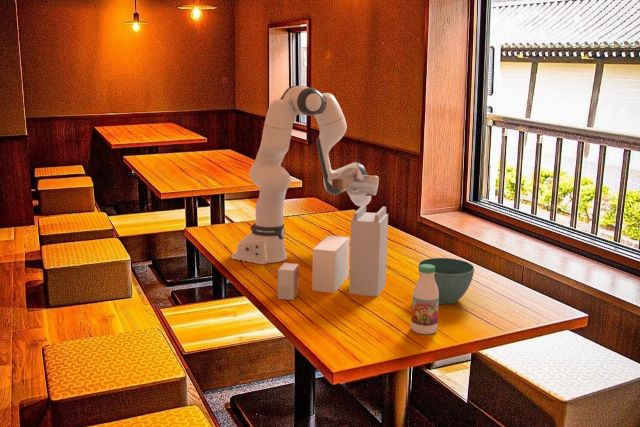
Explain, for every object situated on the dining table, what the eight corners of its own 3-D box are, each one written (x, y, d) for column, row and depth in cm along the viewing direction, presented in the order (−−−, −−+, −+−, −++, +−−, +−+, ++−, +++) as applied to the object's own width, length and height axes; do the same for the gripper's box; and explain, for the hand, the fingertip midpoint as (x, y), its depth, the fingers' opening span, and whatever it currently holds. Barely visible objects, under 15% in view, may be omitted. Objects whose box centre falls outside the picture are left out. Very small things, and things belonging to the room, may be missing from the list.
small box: (293, 300, 220) (293, 270, 218) (277, 299, 221) (277, 269, 219) (299, 292, 228) (299, 263, 225) (283, 291, 229) (283, 262, 226)
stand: (349, 293, 227) (351, 213, 221) (358, 281, 241) (360, 204, 234) (377, 296, 225) (380, 215, 218) (385, 284, 238) (388, 207, 232)
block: (312, 290, 230) (312, 249, 227) (327, 273, 249) (328, 235, 246) (334, 292, 228) (335, 251, 225) (348, 275, 247) (349, 237, 243)
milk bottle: (408, 325, 200) (411, 262, 196) (433, 324, 201) (436, 261, 197) (414, 335, 193) (417, 270, 189) (440, 334, 194) (443, 269, 189)
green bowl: (460, 314, 210) (462, 277, 208) (408, 302, 220) (409, 267, 217) (479, 297, 225) (481, 263, 223) (429, 287, 235) (431, 254, 232)
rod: (332, 189, 237) (332, 178, 236) (347, 177, 259) (348, 167, 258) (342, 190, 236) (343, 179, 235) (357, 178, 258) (358, 168, 257)
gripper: (332, 177, 270) (325, 164, 257) (381, 180, 265) (376, 167, 252) (330, 191, 268) (322, 179, 256) (379, 195, 263) (374, 183, 250)
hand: (350, 173), depth 254 cm, fingers closed on rod, 4 cm apart
